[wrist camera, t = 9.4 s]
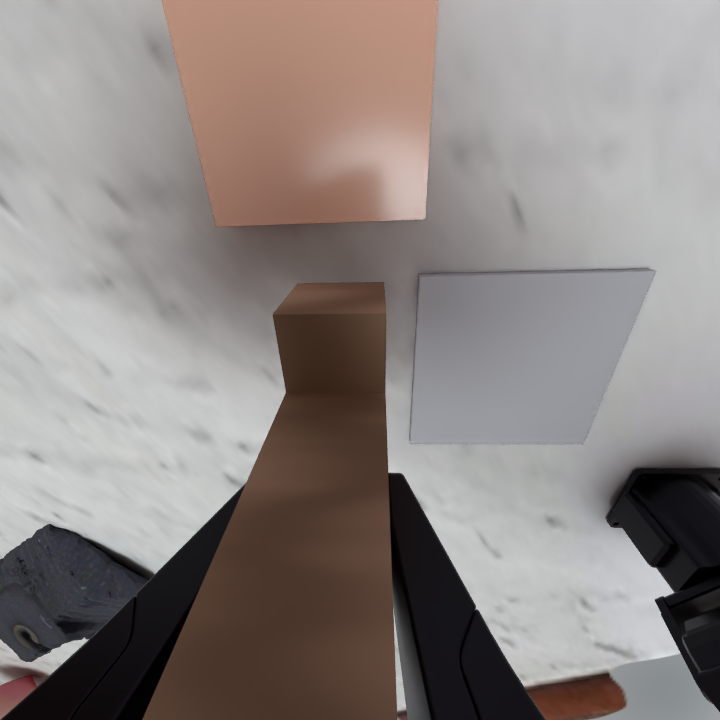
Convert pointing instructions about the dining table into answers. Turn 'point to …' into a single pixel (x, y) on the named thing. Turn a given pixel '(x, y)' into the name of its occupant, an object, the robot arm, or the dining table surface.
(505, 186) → the dining table surface
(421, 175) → the tile
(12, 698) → the decorative fruit
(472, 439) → the mat
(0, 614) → the dark grey folded shirt
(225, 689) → the brown stepped wooden block
